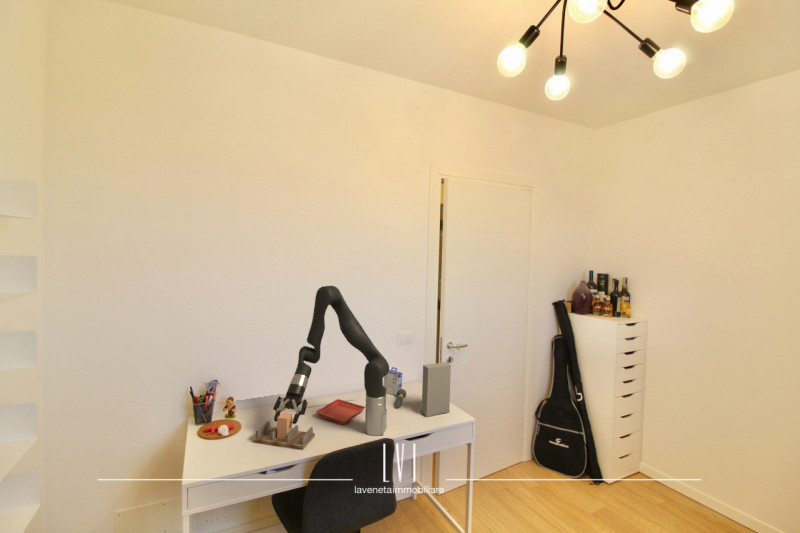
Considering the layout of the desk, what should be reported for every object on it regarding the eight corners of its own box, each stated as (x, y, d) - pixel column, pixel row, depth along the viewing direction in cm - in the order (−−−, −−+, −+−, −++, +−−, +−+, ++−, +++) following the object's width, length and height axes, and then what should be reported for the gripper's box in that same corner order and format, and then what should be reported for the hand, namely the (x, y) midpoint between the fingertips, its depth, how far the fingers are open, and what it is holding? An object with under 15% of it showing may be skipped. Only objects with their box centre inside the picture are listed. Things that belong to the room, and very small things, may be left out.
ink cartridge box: (402, 393, 206) (402, 368, 205) (397, 396, 201) (398, 371, 201) (388, 389, 211) (388, 365, 210) (383, 392, 206) (383, 368, 206)
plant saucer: (365, 412, 181) (365, 406, 180) (344, 427, 165) (344, 420, 164) (337, 404, 189) (337, 398, 189) (314, 418, 173) (314, 411, 173)
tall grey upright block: (443, 407, 188) (444, 361, 187) (449, 412, 182) (451, 365, 181) (420, 412, 182) (422, 364, 181) (426, 417, 176) (428, 368, 175)
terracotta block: (292, 434, 154) (292, 414, 154) (286, 439, 150) (286, 418, 149) (282, 432, 155) (282, 412, 155) (277, 438, 151) (277, 417, 150)
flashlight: (404, 410, 184) (404, 400, 184) (394, 409, 185) (394, 400, 184) (406, 395, 204) (406, 386, 204) (398, 394, 204) (398, 386, 204)
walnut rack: (314, 436, 155) (314, 426, 155) (303, 450, 145) (303, 439, 144) (267, 429, 160) (268, 420, 160) (253, 442, 149) (253, 432, 149)
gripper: (280, 381, 161) (266, 417, 150) (309, 384, 158) (296, 421, 148) (286, 388, 167) (272, 423, 156) (314, 391, 164) (302, 427, 153)
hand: (284, 422), depth 152 cm, fingers open, 8 cm apart
